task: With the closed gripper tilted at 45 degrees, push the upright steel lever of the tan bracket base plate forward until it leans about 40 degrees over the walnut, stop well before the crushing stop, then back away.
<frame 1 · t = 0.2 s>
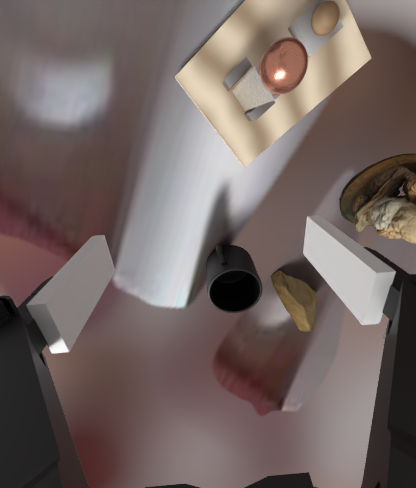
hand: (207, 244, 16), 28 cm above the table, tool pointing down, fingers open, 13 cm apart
tan bracket base plate: (269, 70, 35), on the table
mug: (226, 259, 48), on the table
lever: (262, 81, 24), point 13 cm above the table, hinge at 0.0°
rock: (291, 283, 52), on the table
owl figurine: (381, 191, 44), on the table
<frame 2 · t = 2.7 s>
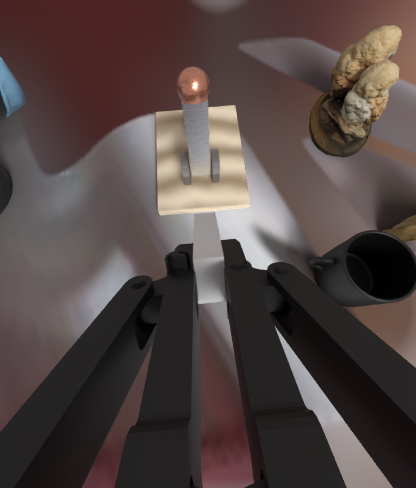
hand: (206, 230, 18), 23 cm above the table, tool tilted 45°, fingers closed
tan bracket base plate: (200, 160, 47), on the table
mug: (335, 275, 39), on the table
lever: (197, 131, 33), point 13 cm above the table, hinge at 0.0°
rock: (408, 229, 41), on the table
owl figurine: (337, 126, 49), on the table
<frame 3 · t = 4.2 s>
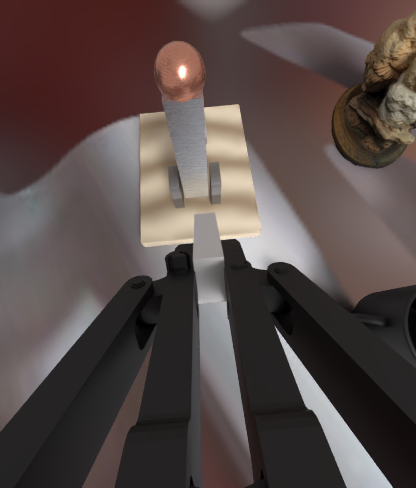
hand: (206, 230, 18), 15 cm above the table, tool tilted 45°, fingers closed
tan bracket base plate: (195, 174, 37), on the table
mug: (376, 328, 29), on the table
lever: (189, 140, 23), point 13 cm above the table, hinge at 0.0°
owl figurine: (367, 129, 39), on the table
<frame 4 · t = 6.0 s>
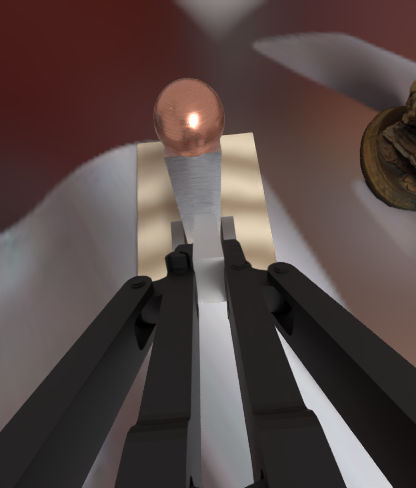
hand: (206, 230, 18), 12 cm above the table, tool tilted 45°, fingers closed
tan bracket base plate: (202, 216, 32), on the table
lever: (198, 196, 18), point 13 cm above the table, hinge at 6.6°, touching gripper
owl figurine: (401, 162, 34), on the table
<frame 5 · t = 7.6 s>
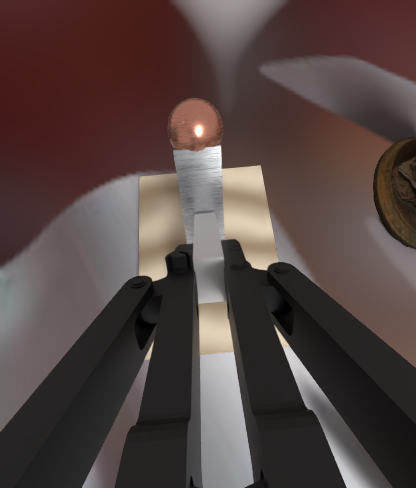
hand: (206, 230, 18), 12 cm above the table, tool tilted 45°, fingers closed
tan bracket base plate: (207, 255, 30), on the table
lever: (203, 218, 19), point 11 cm above the table, hinge at 37.6°, touching gripper
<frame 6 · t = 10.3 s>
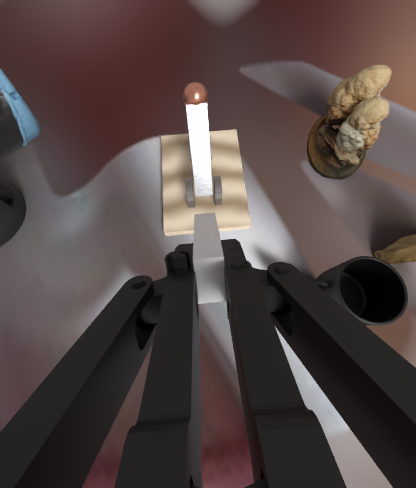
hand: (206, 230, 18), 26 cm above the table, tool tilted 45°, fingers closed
tan bracket base plate: (203, 182, 49), on the table
mug: (331, 294, 41), on the table
lever: (199, 144, 39), point 11 cm above the table, hinge at 37.7°
rock: (399, 250, 44), on the table
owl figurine: (334, 149, 51), on the table
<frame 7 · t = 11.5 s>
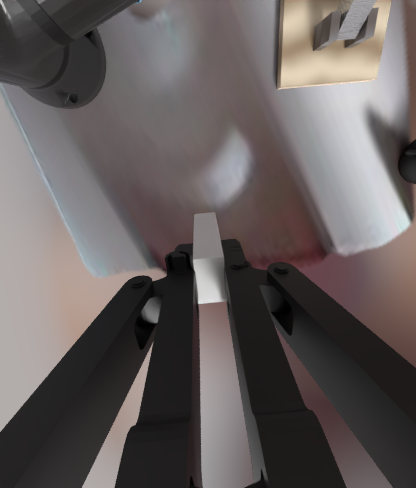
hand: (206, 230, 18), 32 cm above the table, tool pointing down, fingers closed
tan bracket base plate: (332, 0, 37), on the table
mug: (415, 157, 47), on the table
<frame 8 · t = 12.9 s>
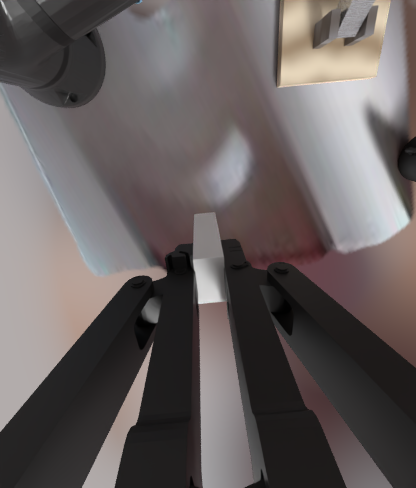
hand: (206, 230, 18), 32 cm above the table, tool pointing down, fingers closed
mug: (415, 154, 48), on the table
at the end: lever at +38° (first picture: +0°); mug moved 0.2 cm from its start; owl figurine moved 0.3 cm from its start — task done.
